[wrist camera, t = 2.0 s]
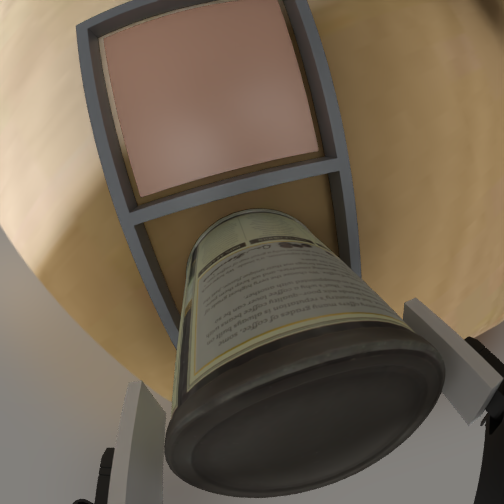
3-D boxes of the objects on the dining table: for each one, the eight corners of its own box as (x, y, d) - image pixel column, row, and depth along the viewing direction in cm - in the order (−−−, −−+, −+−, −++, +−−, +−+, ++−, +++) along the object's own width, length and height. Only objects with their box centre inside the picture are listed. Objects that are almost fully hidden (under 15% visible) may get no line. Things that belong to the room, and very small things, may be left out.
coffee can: (339, 295, 22) (437, 428, 9) (228, 349, 23) (251, 508, 10) (292, 180, 18) (454, 267, 5) (158, 250, 19) (92, 430, 6)
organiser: (287, -15, 12) (295, -27, 11) (352, 322, 23) (362, 335, 22) (86, 34, 12) (75, 25, 10) (195, 367, 23) (195, 383, 21)
